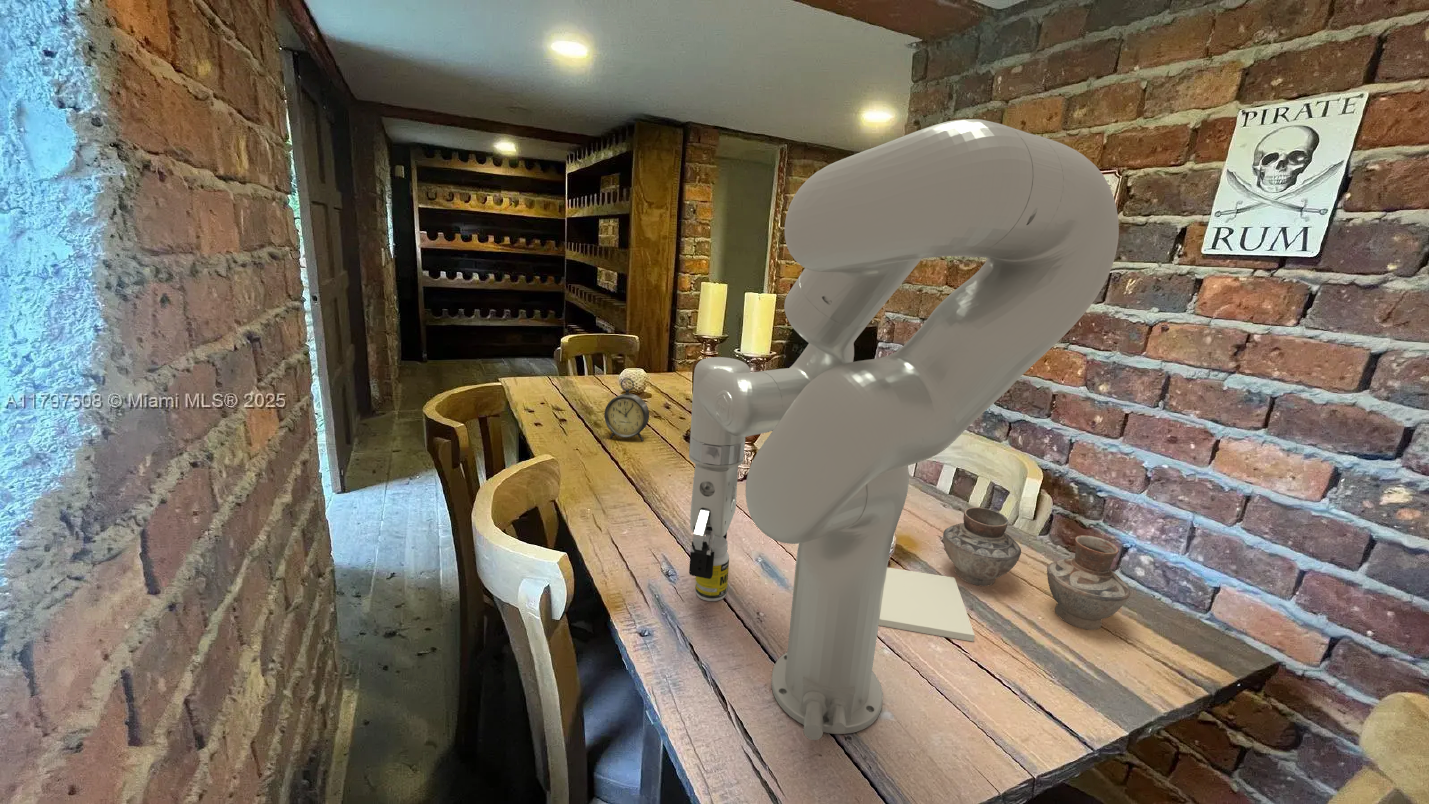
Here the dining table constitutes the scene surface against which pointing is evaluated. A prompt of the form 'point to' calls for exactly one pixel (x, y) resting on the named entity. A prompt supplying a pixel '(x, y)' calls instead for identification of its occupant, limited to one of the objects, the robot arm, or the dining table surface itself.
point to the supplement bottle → (715, 573)
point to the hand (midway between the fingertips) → (708, 557)
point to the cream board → (924, 605)
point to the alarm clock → (626, 415)
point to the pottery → (1073, 582)
